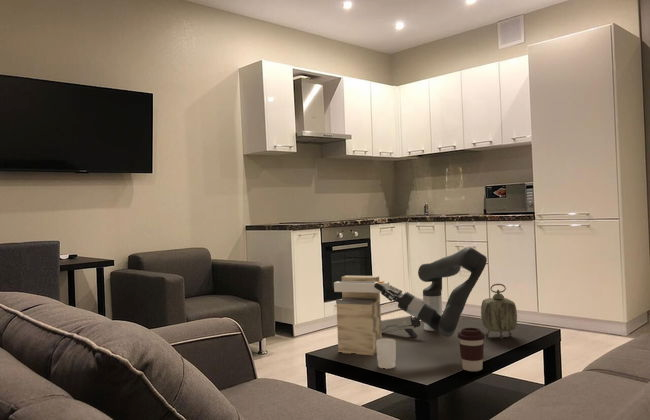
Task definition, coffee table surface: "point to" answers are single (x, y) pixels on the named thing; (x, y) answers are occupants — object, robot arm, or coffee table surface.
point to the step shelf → (359, 319)
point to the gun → (400, 325)
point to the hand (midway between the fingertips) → (376, 284)
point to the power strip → (358, 286)
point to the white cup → (386, 353)
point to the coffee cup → (471, 348)
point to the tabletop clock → (499, 313)
